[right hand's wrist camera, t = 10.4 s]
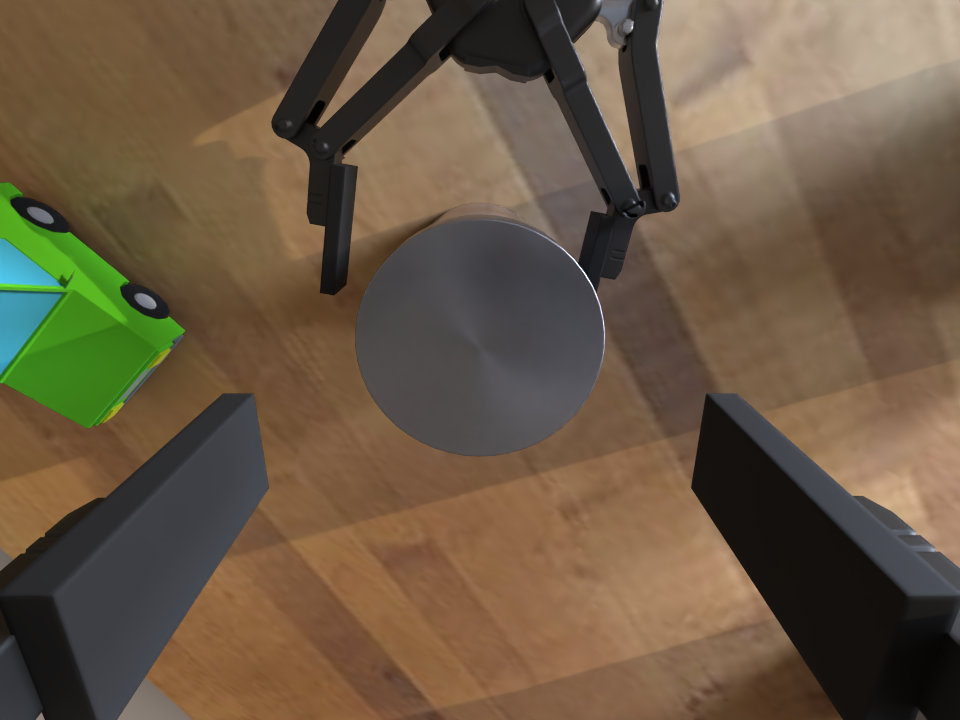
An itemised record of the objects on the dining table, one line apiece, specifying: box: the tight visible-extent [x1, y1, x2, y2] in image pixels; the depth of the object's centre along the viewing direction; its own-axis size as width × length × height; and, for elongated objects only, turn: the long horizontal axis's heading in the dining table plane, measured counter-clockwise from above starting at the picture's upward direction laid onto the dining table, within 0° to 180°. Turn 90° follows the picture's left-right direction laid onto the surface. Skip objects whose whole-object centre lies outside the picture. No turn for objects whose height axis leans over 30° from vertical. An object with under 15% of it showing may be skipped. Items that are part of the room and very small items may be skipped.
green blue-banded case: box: [0, 183, 185, 429], centre depth 31 cm, size 10×13×10 cm
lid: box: [355, 214, 605, 456], centre depth 21 cm, size 10×10×2 cm
